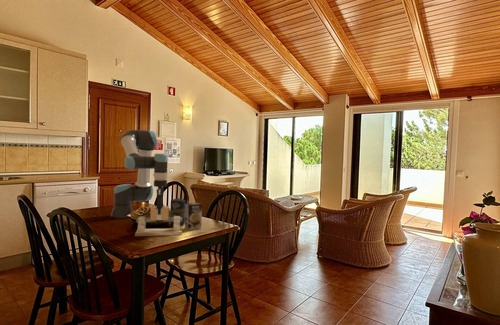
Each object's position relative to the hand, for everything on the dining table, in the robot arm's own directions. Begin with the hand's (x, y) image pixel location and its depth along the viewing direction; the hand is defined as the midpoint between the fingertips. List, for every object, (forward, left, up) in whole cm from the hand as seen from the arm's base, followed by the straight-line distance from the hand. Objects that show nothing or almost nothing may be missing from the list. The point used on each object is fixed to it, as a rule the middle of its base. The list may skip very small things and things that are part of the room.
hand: (159, 218), depth 176 cm
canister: (-20, +10, -9) cm, 24 cm away
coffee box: (-9, +20, -9) cm, 24 cm away
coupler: (0, 0, 0) cm, 0 cm away
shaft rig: (0, 0, -9) cm, 9 cm away
